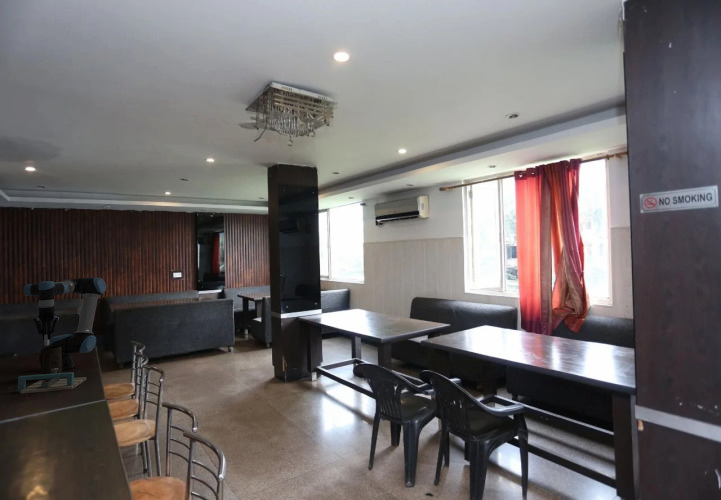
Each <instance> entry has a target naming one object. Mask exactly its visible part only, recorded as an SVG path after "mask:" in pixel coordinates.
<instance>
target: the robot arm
mask: <svg viewBox="0 0 721 500" xmlns="http://www.w3.org/2000/svg"><path fill="white" fill-rule="evenodd" d="M106 285H107V284H106V282H105V279H103V278H102V277H78V278H72V279H71V278H70V279H65V280H63V281H57V282H54V281H53V280H52V281H51V280H50V281H49V280H48V281H47V280H46V281H39V283H28V284H25V285H24V287H23V294H24V295H25V296H27V297H28V296H30V297H33V296H34V297H37V296H38V315H37V317H36V318H33V322H34V323H35V326H36V330H37V331H38V334H39V335H42V341H43V342H44V344H43V345H44V346H45V347H46V346H47V347H48V346H49V347H51V346H61V348H62V349H61V355H62V371H67V370H71V369H73V368H74V367H75V364H74V361H73V358H72V354H79V353H80V354H84V353H90V352H92V350H94V348H95V347H96V345H97V337H96V336H95V335H94V332H93V326H94V321H95V316H96V310H97V305H98V301H99V300H98V299H99V298H101V296H102V294H104V293H105V292H106V290H107V286H106ZM65 294H79V295H81V296H82V298H83V300H82V305H81V309H80V315H79V320H78V324H77V330H76V331H74V333H73V335H72V334H71V333H66V334H61V335H56V336H52V334H54V333H55V332H56V329H57V325H58V322H59V320H60V319H61V318H60V316H56V314H55V297H56V296H62V295H65ZM52 321H53V323H52Z"/></svg>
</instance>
